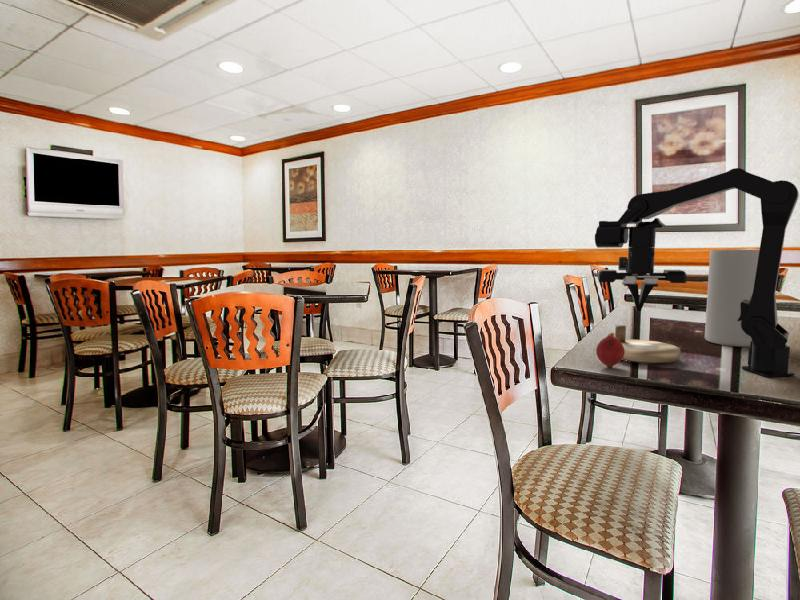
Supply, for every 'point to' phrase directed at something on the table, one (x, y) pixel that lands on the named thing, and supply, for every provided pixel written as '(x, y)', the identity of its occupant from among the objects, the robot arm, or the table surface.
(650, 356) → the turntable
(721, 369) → the table surface
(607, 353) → the onion
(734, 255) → the cylinder vase
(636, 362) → the susan base
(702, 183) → the robot arm
